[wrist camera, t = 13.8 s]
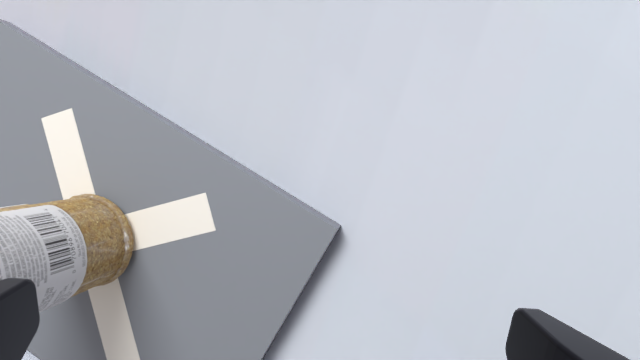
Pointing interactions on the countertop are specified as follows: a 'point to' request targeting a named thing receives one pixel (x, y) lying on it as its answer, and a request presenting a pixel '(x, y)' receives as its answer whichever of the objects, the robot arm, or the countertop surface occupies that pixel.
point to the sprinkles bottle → (64, 245)
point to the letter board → (151, 219)
